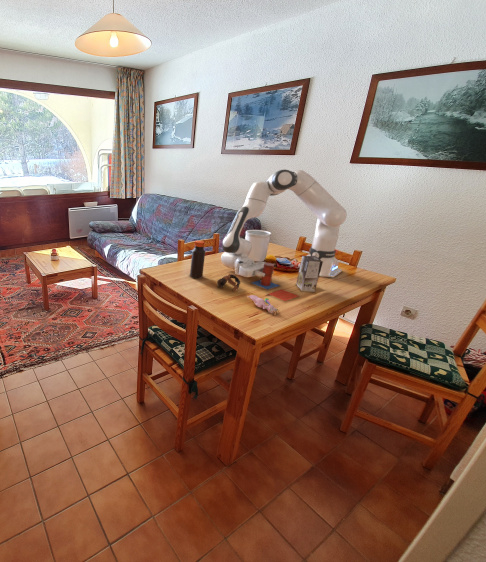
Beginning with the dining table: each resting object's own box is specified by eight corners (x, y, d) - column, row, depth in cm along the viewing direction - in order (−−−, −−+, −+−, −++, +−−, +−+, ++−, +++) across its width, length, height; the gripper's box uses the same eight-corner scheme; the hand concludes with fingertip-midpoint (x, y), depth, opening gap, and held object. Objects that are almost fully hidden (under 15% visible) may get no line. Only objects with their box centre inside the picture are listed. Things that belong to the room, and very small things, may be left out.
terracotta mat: (281, 290, 155) (281, 289, 155) (299, 296, 148) (299, 295, 148) (267, 294, 150) (267, 293, 150) (284, 302, 143) (285, 301, 143)
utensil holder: (238, 254, 209) (242, 229, 202) (260, 255, 208) (265, 229, 202) (246, 261, 195) (250, 234, 188) (269, 262, 195) (275, 235, 188)
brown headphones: (225, 283, 164) (235, 272, 159) (234, 296, 159) (245, 286, 154) (209, 282, 158) (219, 270, 153) (219, 296, 152) (229, 285, 147)
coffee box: (315, 292, 153) (323, 261, 147) (301, 291, 154) (308, 260, 148) (308, 285, 161) (316, 255, 155) (295, 284, 162) (302, 255, 156)
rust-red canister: (264, 281, 164) (268, 262, 160) (272, 284, 160) (276, 264, 156) (258, 283, 162) (262, 263, 158) (266, 286, 158) (270, 266, 154)
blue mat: (262, 279, 168) (263, 279, 168) (279, 286, 160) (279, 285, 160) (250, 283, 163) (250, 282, 163) (267, 290, 155) (267, 289, 155)
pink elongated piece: (279, 315, 134) (251, 297, 145) (284, 304, 131) (255, 286, 142) (271, 319, 131) (242, 300, 142) (275, 307, 128) (246, 289, 139)
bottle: (199, 279, 168) (203, 244, 160) (187, 276, 172) (191, 242, 164) (204, 276, 173) (208, 241, 165) (193, 273, 177) (196, 239, 169)
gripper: (257, 268, 175) (280, 275, 164) (232, 274, 166) (254, 283, 155) (259, 257, 173) (282, 264, 162) (234, 263, 163) (256, 271, 152)
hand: (268, 273), depth 158 cm, fingers closed on rust-red canister, 5 cm apart
